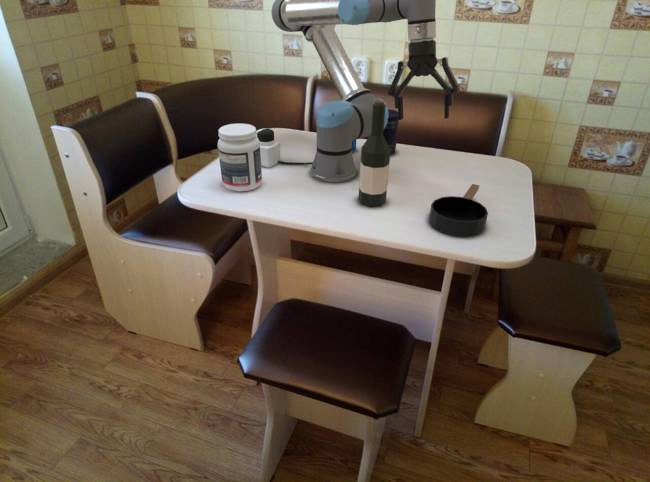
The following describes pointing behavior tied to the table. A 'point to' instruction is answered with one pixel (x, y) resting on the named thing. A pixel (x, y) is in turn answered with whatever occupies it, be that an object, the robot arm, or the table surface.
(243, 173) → the supplement tub
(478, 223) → the frying pan
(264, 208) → the table surface
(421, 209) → the table surface
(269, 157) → the medicine bottle
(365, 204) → the wine bottle
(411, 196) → the table surface
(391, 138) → the storage jar
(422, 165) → the table surface
